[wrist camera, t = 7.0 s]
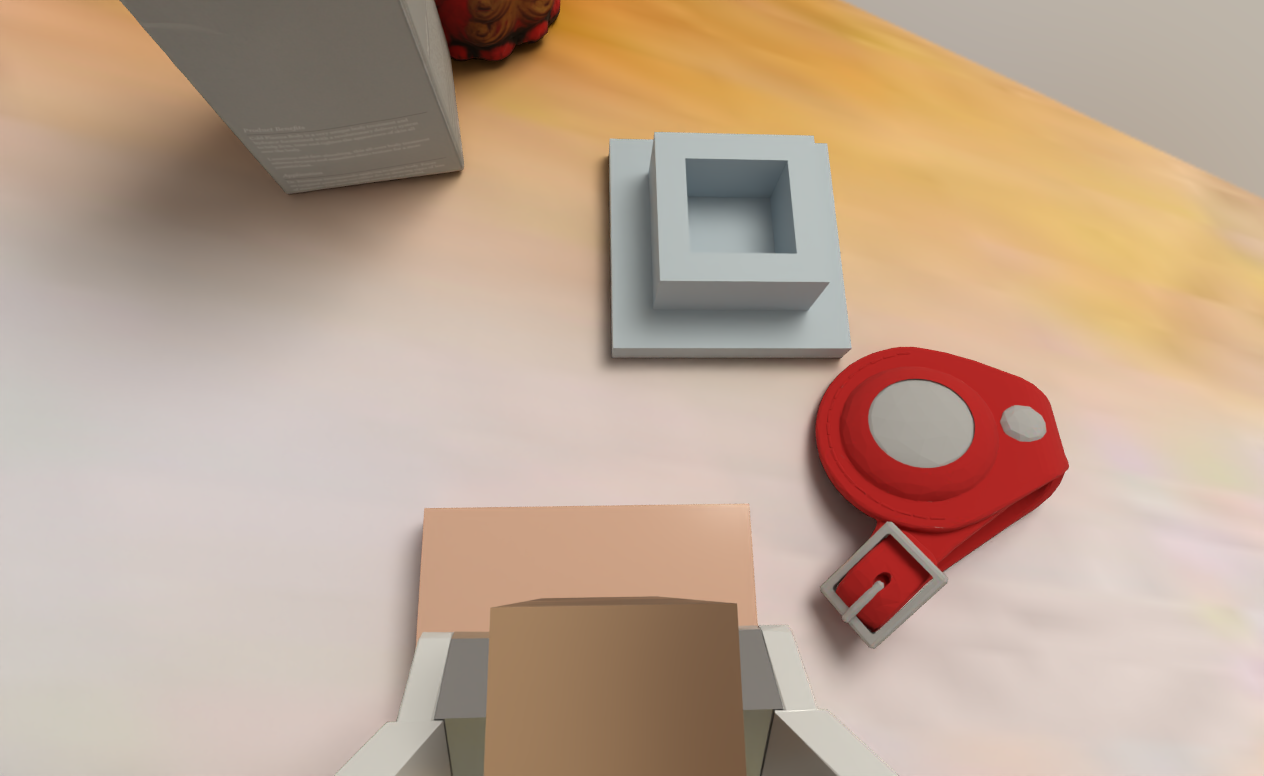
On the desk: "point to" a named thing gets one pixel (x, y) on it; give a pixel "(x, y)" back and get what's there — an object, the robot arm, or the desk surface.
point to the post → (614, 688)
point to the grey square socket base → (724, 248)
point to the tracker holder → (928, 472)
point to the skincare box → (320, 83)
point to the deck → (580, 558)
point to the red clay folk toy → (493, 25)
